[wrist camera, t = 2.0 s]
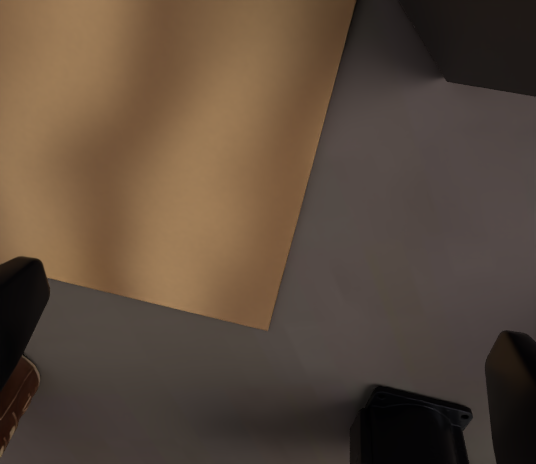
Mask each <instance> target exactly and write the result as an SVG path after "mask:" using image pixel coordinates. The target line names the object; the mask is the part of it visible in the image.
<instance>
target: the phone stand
mask: <svg viewBox="0 0 536 464" xmlns="http://www.w3.org/2000/svg"><path fill="white" fill-rule="evenodd" d="M399 2H400V4H401V5H402V7H403V9H404V10H405V12H406V14H407V15H408V17H409V19H410V20H411V22H412V24H413V25H414V27H415V29H416V31H417V32H418V34H419V36H420V37H421V39H422V41H423V42H424V44H425V46H426V47H427V49H428V51H429V52H430V54H431V56H432V57H433V59H434V61H435V62H436V64H437V66H438V68H439V69H440V71H441V73H442V74H443V76H444V78H445V79H446V81H447V82H452V83H458V84H464V85H470V86H476V87H482V88H488V89H494V90H500V91H506V92H512V93H518V94H524V95H530V96H536V0H399Z"/></svg>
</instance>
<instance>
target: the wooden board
mask: <svg viewBox="0 0 536 464" xmlns="http://www.w3.org/2000/svg"><path fill="white" fill-rule="evenodd" d="M356 1H357V0H0V264H3V263H5V262H7V261H9V260H11V259H13V258H15V257H18V256H26V257H32V258H38V259H40V260H41V261H42V263H43V265H44V269H45V273H46V276H47V278H51V279H55V280H59V281H63V282H67V283H71V284H75V285H79V286H84V287H88V288H92V289H96V290H100V291H104V292H108V293H113V294H117V295H121V296H125V297H129V298H133V299H137V300H142V301H146V302H150V303H154V304H158V305H162V306H166V307H170V308H175V309H179V310H183V311H187V312H191V313H195V314H199V315H204V316H208V317H212V318H216V319H220V320H224V321H228V322H233V323H237V324H241V325H245V326H249V327H253V328H257V329H261V330H266V331H268V328H269V324H270V321H271V317H272V313H273V309H274V306H275V302H276V298H277V294H278V291H279V287H280V283H281V280H282V276H283V272H284V268H285V265H286V261H287V257H288V254H289V250H290V246H291V242H292V239H293V235H294V231H295V228H296V224H297V220H298V216H299V213H300V209H301V205H302V202H303V198H304V194H305V190H306V187H307V183H308V179H309V176H310V172H311V168H312V164H313V161H314V157H315V153H316V150H317V146H318V142H319V138H320V135H321V131H322V127H323V124H324V120H325V116H326V112H327V109H328V105H329V101H330V98H331V94H332V90H333V86H334V83H335V79H336V75H337V71H338V68H339V64H340V60H341V57H342V53H343V49H344V45H345V42H346V38H347V34H348V31H349V27H350V23H351V19H352V16H353V12H354V8H355V5H356Z"/></svg>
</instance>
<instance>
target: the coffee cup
mask: <svg viewBox="0 0 536 464" xmlns="http://www.w3.org/2000/svg"><path fill="white" fill-rule="evenodd" d="M39 383H40V375H39V372H38V370H37V368H36V366H35V365H34V364H33V363H32V362H31V361H29V360H28V359H27V358H26V357H24V356H23V355H22V356H21V358H20V360H19V362H18V364H17V366H16V368H15V369H14V371H13V373H12V375H11V376H10V378H9V380H8V381H7V383H6V384H5V386H4V388H3V389H2V391H1V393H0V457H1V456H2V454H3V452H4V451H5V449H6V447H7V445H8V443H9V441H10V439H11V437H12V435H13V434H14V432H15V430H16V428H17V426H18V422H19V419H20V418H21V416H22V415H23V414H24V413H25V412H26V410H27V408H28V406H29V405H30V403H31V399H32V397H33V396H34V394H35V393H36V391H37V389H38V386H39Z"/></svg>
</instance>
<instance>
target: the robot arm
mask: <svg viewBox="0 0 536 464" xmlns="http://www.w3.org/2000/svg"><path fill="white" fill-rule="evenodd" d="M49 296H50V287H49V283H48V280H47V276H46V273H45V269H44V265H43V263H42V261H41V260H40V259H38V258H32V257H26V256H18V257H15V258H13V259H11V260H9V261H7V262H5V263H3V264H0V393H1V391H2V389H3V388H4V386H5V384H6V383H7V381H8V380H9V378H10V376H11V375H12V373H13V371H14V369H15V368H16V366H17V364H18V362H19V360H20V358H21V356H22V354H23V352H24V350H25V348H26V346H27V344H28V342H29V340H30V338H31V336H32V333H33V331H34V329H35V327H36V325H37V323H38V321H39V319H40V317H41V315H42V312H43V310H44V308H45V306H46V304H47V302H48V300H49ZM485 375H486V385H487V394H488V404H489V413H490V423H491V432H492V440H493V448H494V453H495V458H496V463H497V464H536V342H535V341H534V340H533V339H532V338H531V337H530V336H529V335H527V334H525V333H521V332H515V331H508V330H506V331H502V332H501V333H500V334H499V336H498V338H497V340H496V342H495V343H494V345H493V347H492V349H491V351H490V353H489V355H488V357H487V359H486V363H485ZM472 418H473V415H472V411H471V409H470V408H467V407H464V406H460V405H456V404H451V403H447V402H443V401H439V400H435V399H431V398H427V397H423V396H418V395H414V394H410V393H406V392H402V391H398V390H394V389H390V388H386V387H377V388H375V389H374V391H373V393H372V395H371V396H370V398H369V400H368V402H367V404H366V406H365V408H362V409H361V410H360V411H359V413H358V415H357V417H356V418H355V420H354V422H353V424H352V426H351V428H350V464H469V460H468V455H467V451H466V446H465V441H464V436H463V432H462V431H463V430H464V429H465V427H466V426H467V425H468V424H469V422H470V421H471V420H472Z"/></svg>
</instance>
